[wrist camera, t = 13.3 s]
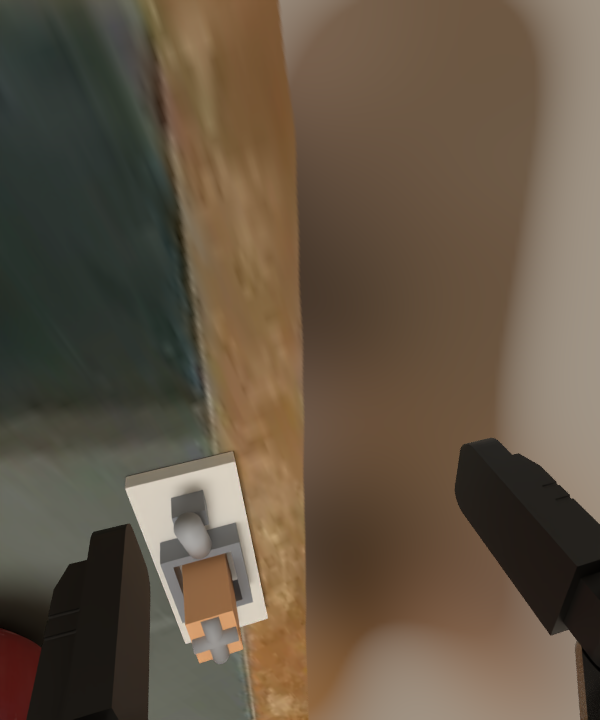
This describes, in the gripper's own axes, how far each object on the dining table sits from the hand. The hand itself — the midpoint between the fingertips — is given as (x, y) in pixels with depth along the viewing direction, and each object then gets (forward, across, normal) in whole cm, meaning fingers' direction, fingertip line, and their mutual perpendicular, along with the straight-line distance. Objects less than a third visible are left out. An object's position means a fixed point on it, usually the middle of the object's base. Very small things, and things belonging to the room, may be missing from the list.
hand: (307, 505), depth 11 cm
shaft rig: (+27, +6, +35) cm, 45 cm away
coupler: (+26, +6, +35) cm, 44 cm away
